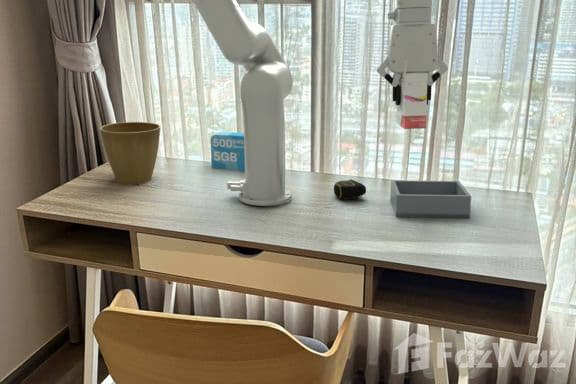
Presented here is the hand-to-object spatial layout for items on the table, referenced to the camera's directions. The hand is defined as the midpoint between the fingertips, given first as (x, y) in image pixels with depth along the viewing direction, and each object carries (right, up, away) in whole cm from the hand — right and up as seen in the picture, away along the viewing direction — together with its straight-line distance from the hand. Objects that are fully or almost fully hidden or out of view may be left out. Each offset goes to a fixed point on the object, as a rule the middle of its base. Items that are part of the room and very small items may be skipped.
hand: (411, 103), depth 132 cm
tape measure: (-9, -21, +16) cm, 28 cm away
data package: (-42, -15, +38) cm, 58 cm away
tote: (+5, -23, +8) cm, 25 cm away
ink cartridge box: (0, -5, +1) cm, 5 cm away
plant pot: (-67, -18, +27) cm, 74 cm away
